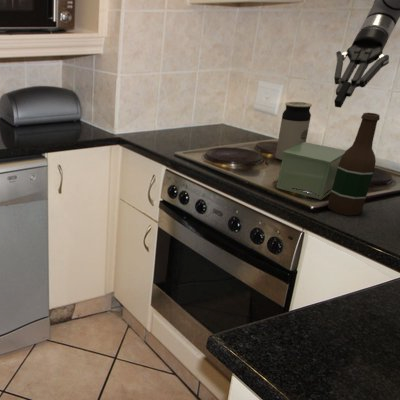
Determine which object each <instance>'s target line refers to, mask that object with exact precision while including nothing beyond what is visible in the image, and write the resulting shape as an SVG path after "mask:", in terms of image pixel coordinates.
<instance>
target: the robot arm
mask: <svg viewBox="0 0 400 400" xmlns="http://www.w3.org/2000/svg"><path fill="white" fill-rule="evenodd" d="M399 19H400V0H374V1H373V3H372V6H371V8H370V10H369V11H368V14H367V16H366V18H365V20H364V21H363V23H362V25H361V27H360V29H359V30H358V33H357V34H356V36H355V38H354V40H353V42H352V44H351V46H350V47H348V48H347V50H346V51H341V50H338V51H336V53H335V55H336V65H335V71H334V80H333V81H334V84H335V85H337V87H336V89H335V95H336V96H335V98H334V108H342V106H343V104H344V103H345V102H346V99H347V97H348V98H350V97H352V96H353V94H354V92H355V90H356V89H357V88H358V87H359V88H365V87H366V86H367V85H368V84H369V82H370V81H371V80H372V79H373V78H374V77H375V76H376V75H377V73H379V72H380V70H381V69H382V68H383V67H385V66H387V65H388V64H389V63H390V55H389V54H383V52H384V49H385V47H386V45H387V43H388V40H389V39H390V37H391V35H392V33H393V31H394V29H395V27H396V25H397V23H398V21H399ZM347 58H348V60H349V62H348V65H347V67H346V68H345V70H344V72H343V66H344V62H345V60H346V59H347ZM372 63H373V64H372ZM371 64H372V65H371ZM369 65H371V66H370V68H368V67H369ZM357 66H358V67H357ZM355 69H356V71H355ZM367 69H368V70H367ZM366 70H367V71H366ZM354 71H355V73H354ZM342 72H343V74H342ZM353 73H354V75H353ZM352 75H353V76H352ZM351 77H352V78H351Z"/></svg>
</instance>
